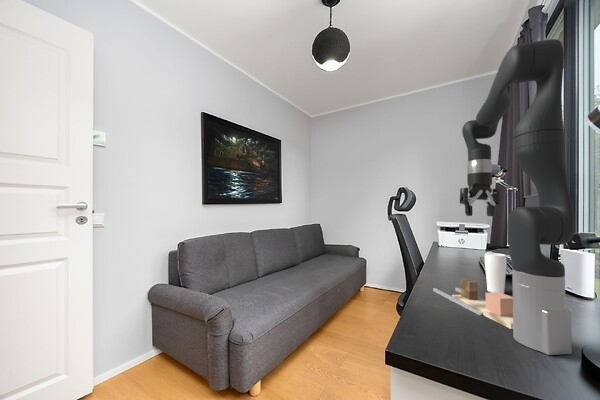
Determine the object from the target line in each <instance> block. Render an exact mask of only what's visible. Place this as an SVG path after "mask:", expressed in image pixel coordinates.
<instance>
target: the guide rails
mask: <svg viewBox="0 0 600 400" xmlns="http://www.w3.org/2000/svg"><path fill="white" fill-rule="evenodd" d="M432 289H433V290H432V291H433V292H434V293H436V294H438V295H440V296H442V297H444V298H446V299H448V300H449V301H451V302H453V303H456V304H457V305H459V306H461V307H463V308H464V309H466V310H469V311H470V312H473V313H475V314H476V315H478V316H482V311H480V310H478V309H476V308H474V307H472V306H470V305H468V304H466V303H464V302H462V301H460V300H458V299H456V298H454V297H452V295H451V294H449V293H446V292H444V291H442V290H440V289H438V288H436V287H433V288H432ZM454 291H455V292H457V293H460V294H461V287H460V288H459V287H455V290H454ZM483 299H484V298H483ZM484 300H486V298H485V299H484Z"/></svg>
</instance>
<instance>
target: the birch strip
mask: <svg viewBox="0 0 600 400" xmlns="http://www.w3.org/2000/svg"><path fill="white" fill-rule="evenodd" d="M478 284H479V283H478V281H476V280H473V279H470V278H460V289H461V293H460V294H452V295H451V296H452V297H454V298H456V299H458V300H460V301H462V302H464V303H466V304H468V305H470V306H472V307H474V308H476V309H478V310H480V311H482V315H483V316H484V317H486V318H488V319H490V320H492V321H494V322H496V323H498V324H500V325H502V326H504V327H506V328H507V329H509V330H513V316H499V315H497V314H495V313H493V312H491V311H489V310H487V309H486V299H485V300H484V298H482V297H480V296H478V295H479V293H478V286H479V285H478ZM482 315H481V316H482Z"/></svg>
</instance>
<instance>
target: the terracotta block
mask: <svg viewBox="0 0 600 400" xmlns="http://www.w3.org/2000/svg"><path fill="white" fill-rule="evenodd" d="M485 300H486V309H487V310H489V311H491V312H493V313H495V314H497V315H499V316H513V296H511V295H508V294H505V293H504V294H503V293H500V292H497V293H491V292H485Z"/></svg>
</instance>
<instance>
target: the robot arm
mask: <svg viewBox="0 0 600 400" xmlns="http://www.w3.org/2000/svg"><path fill="white" fill-rule="evenodd" d="M564 63H565V53H564V46H563V43H562V41H560V39H554V38H551V39H544V40H542V39H541V40H536V41H530V42H524V43H519V44H516V45H513V46H511V48H509V49H508V51H506V53H505V55H504V57H503V58H502V60H501V62H500V65H499V67H498V70H497V72H496V74H495V77H494V79H493V82H492V84H491V87H490V90H489V93H488V95H487V97H486V99H485V101H484V103H483V104H482V106H481V108H479V110H478V112H477V114H476V117H475V119H473V120H472V119H471V120H467V121H466V122H465V123H464V125H463V126H462V130H461V132H462V137H463V139H464V142H465V146H466V149H467V166H466V167H467V171H466V172H467V174H466V176H467V178H466V179H467V183H466V184H467V186H468V187H461V188H460V190H459V204H460V205H463V206H464V209H465V210H464V212H465V215H466V217H472V216H473V204H474V203H475V202H476V201H477V200H478V201H479V200H480V201H483V202H484V203H485V204H486V216H487V217H494V215H495V206H497V205H500V204H501V199H500V197H501V196H500V189H499V188H492V187H491V186H492V185H493V164H492V148H491V145H490V144H488V143H482V142H479V141H478V140H480V139H481V140H484V139H485V140H486V139H490V138H492V137H494V136H495V135H496V133H497V130H498V125H499V123H500V121H501V119H503V117H504V116H505V114H506V113H507V112H508V110H509V108H510V107H511V106H510V105H511V98H510V94H509V91H508V87H509V86H510V85H512V84H516V83H527V82H534V83H535V84H536V85H535V87H536V88H535V89H536V90H535V96H534V99H533V101H532V103H531V104H530V106H529V108H528V109H527V111H526V112H525V113H524V114H523V115H522V117H521V118H520V120H519V121H518V122H517V125H516V126H515V128H514V130H513V132H512V134H513V136H512V144H513V156H514V159H515V161H516V163H517V164H518V166H519V167H520V169H521V170H522V171H523V172H524V173H525V174H526V176H527V177H528V178H529V179H530V180H531V182H532V183H533V185H534V186H535V189H536V192H537V196H538V202H539V206H518V207H515V208H513V209H512V210H511V211H510V213H509V215H508V218H507V239H508V248H509V250H508V252H509V258H510V260H511V265H512V266H511V267H512V297H513V329H512V330H513V331H512V332H513V334H512V335H513V339H514V340H515V341H516V342H518V343H519V344H520V345H523V346H525V347H527V348H530V349H532V350H535V351H539V352H541V353H543V354H546V355H548V356H554V355H556V356H557V355H572V354H573V347H572V345H573V344H572V343H573V342H572V338H573V337H572V312H571V311H570V310H568V309H566V308H567V307H566V268H565V267H566V266H565V265H564V264H563V263H562V262H561V261H558V260H555V259H551V258H550V257H548V256H546V255H544V254H543V253H542V250H541V249H542V248H541V245H546V246H547V245H548V246H549V245H551V246H560V245H566V244H569V242H570V241H571V240H572V239H573V237H574V235H575V229H576V222H575V220H576V219H575V215H574V208H573V203H572V199H571V194H570V190H569V185H568V177H567V166H566V165H567V164H566V155H565V154H566V150H565V149H566V140H565V125H564V118H563V117H564V116H563V99H562V98H563V97H562V95H563V94H562V92H563V78H564Z"/></svg>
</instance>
